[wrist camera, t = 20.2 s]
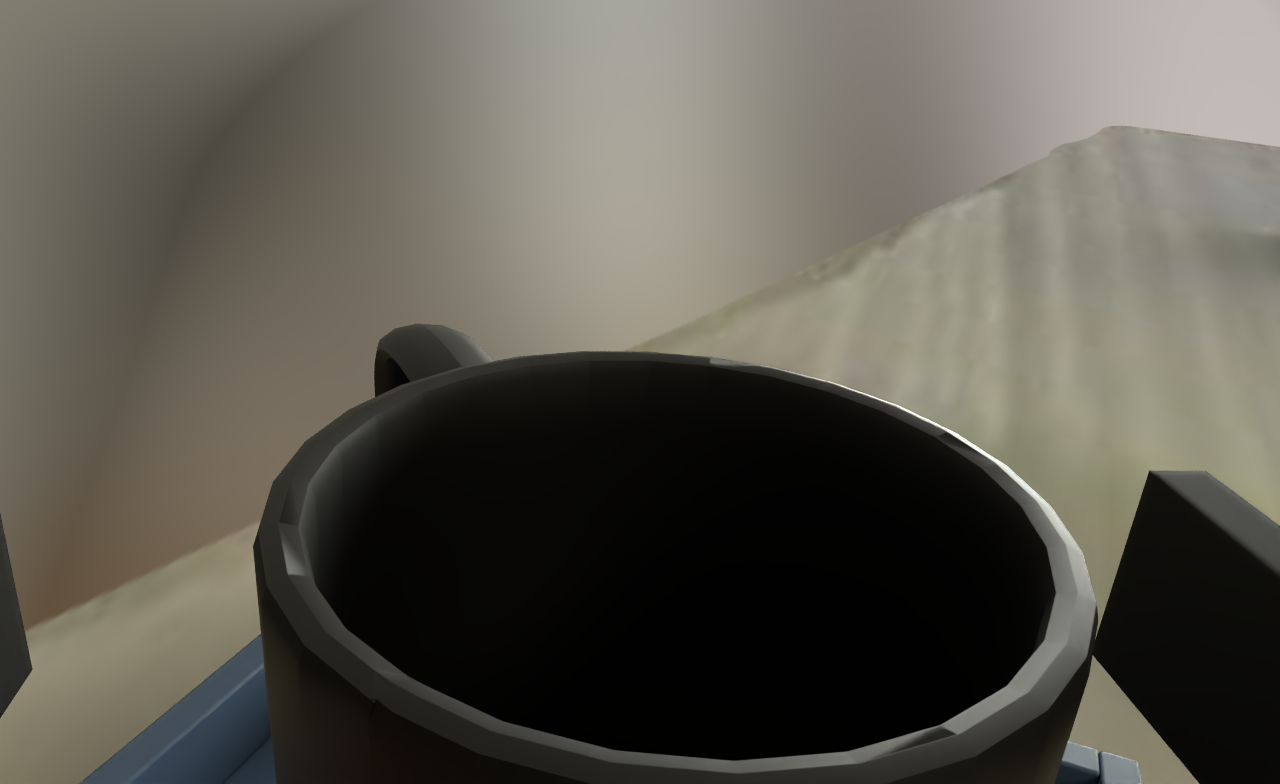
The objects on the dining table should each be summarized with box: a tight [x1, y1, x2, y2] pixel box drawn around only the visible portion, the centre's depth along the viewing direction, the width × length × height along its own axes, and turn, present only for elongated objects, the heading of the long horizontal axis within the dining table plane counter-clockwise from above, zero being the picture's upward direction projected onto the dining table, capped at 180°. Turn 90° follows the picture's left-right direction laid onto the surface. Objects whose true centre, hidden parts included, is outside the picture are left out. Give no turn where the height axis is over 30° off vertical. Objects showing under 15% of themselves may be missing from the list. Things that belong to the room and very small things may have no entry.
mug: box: [253, 324, 1098, 784], centre depth 14 cm, size 8×12×10 cm
